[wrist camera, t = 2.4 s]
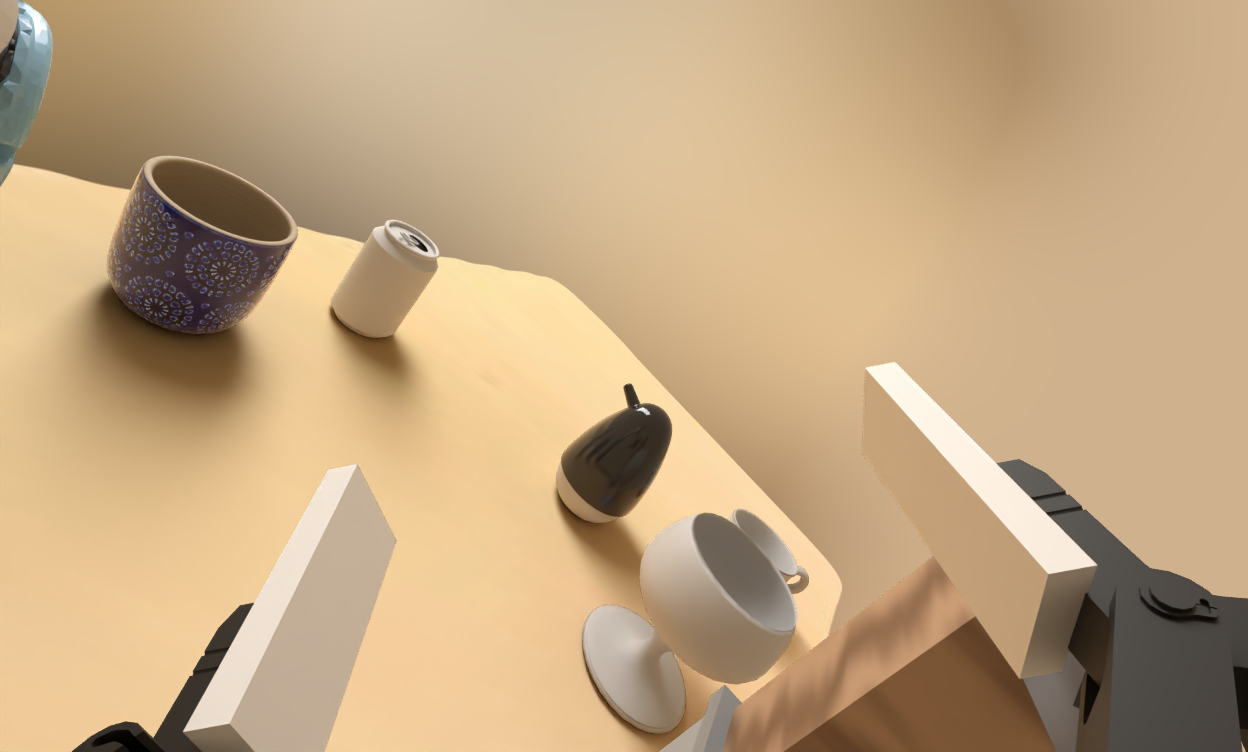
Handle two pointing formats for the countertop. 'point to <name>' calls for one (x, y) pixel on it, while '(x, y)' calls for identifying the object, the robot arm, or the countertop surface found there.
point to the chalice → (690, 621)
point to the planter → (196, 246)
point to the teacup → (771, 547)
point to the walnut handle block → (910, 686)
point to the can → (385, 279)
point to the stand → (708, 726)
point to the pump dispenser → (614, 461)
